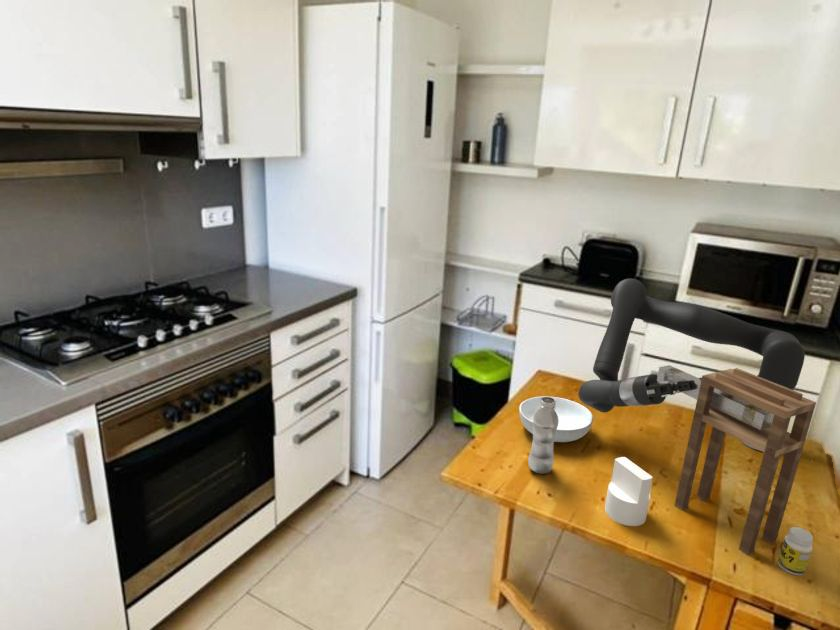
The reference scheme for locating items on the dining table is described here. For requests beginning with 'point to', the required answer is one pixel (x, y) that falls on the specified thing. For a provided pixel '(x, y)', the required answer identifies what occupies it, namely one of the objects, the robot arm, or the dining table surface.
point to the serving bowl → (560, 418)
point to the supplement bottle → (796, 551)
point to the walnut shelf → (766, 440)
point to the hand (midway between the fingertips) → (699, 383)
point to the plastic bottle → (543, 436)
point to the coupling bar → (721, 400)
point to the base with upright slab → (628, 493)
